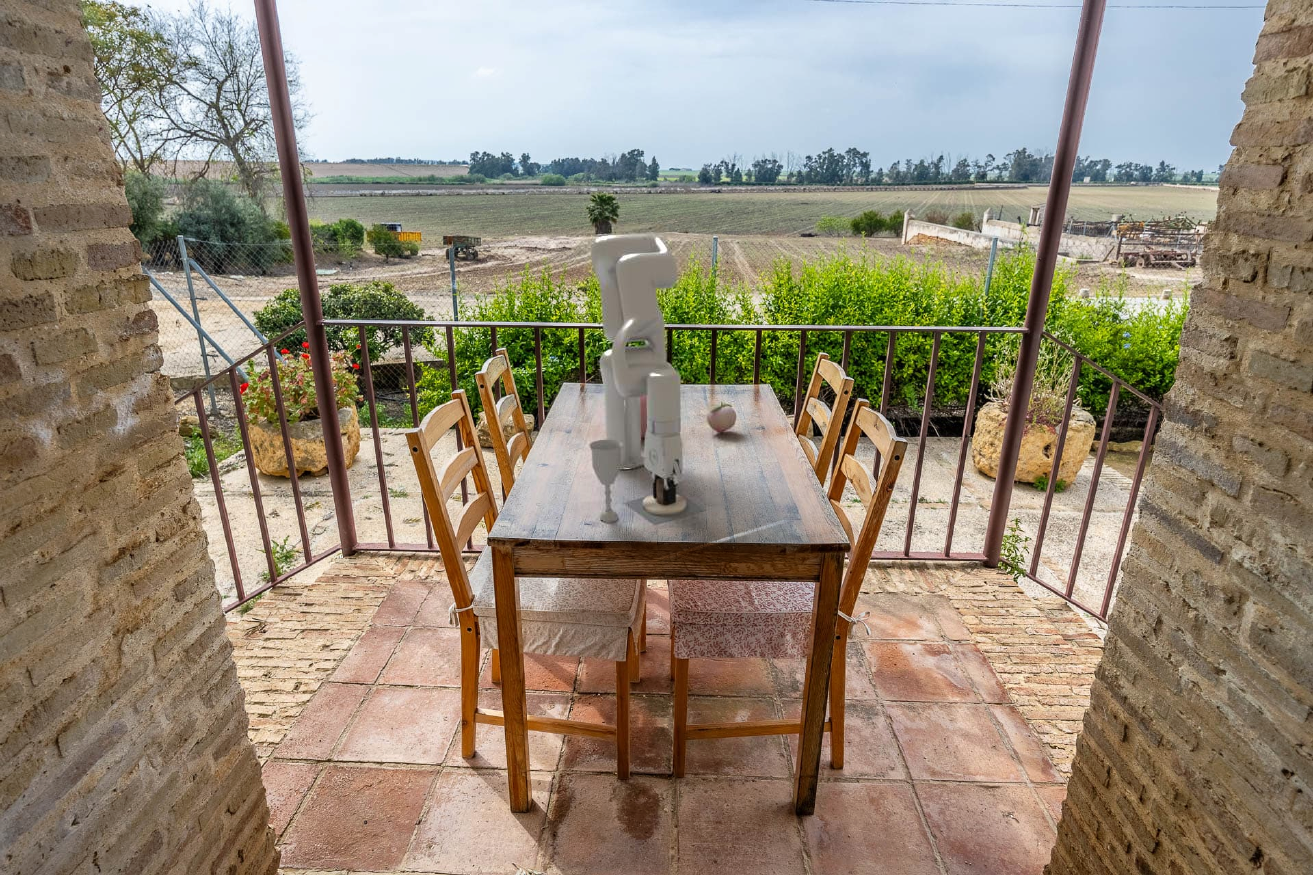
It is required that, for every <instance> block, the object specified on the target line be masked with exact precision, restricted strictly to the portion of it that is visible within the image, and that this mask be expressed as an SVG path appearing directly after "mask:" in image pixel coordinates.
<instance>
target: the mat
mask: <svg viewBox="0 0 1313 875" xmlns="http://www.w3.org/2000/svg"><path fill="white" fill-rule="evenodd" d="M676 494H677V495H680V496H682V497H683V498H685V500H686V508H685V510H684V511H682V512H680V513H678V514H674V515H666V516H662V515H654V514H651V513H648V512H646V511H645V510H644V509H643V500H644V499H645V498H646V497H647V496H645V497H640V498H635V499H634V500H633V499H632V500H628V501H625V502H626V503H624V502H623V504H624V505H626V506H627V507H628V508H630V509H631V510H633V511H634V512H636V513H637V514H638V515H640V516H641V517H643V518H644V519H646V520H647V521H648V522H650V523H651V524H653V526H656V525H659V524H663V523H665V522H670V521H673V520H677V519H681V518H684V517H687V516H691V515H695V514H698V513H703V512H706V511H707V509H706V508H704V507H702V506H701V505H699V504H697V503H696V502H694V500H691V499H690V498H688V497H686V496H684V495H682V494H681V493H680V492H678V491H676Z"/></svg>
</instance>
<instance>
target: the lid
mask: <svg viewBox="0 0 1313 875" xmlns="http://www.w3.org/2000/svg"><path fill="white" fill-rule="evenodd" d="M668 480H669V482H670V481H671V480H672V478H669V479H668ZM656 484H657V499H654V498H653V494H650V495H648V496H645V497H646V498H645V499H644V500H643V509H644V510H645V511H646V512H648V513H651V514H654V515H662V516H666V515H674V514H678V513H680V512H682V511H684V510H685V508H686V500H685V498H683V497H682V496H680V495H677V494H676V502H675V503H673V504H669V505H664V504H663V489H664V488H665V487H664V479H663V478H660V479H657V481H656Z"/></svg>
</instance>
